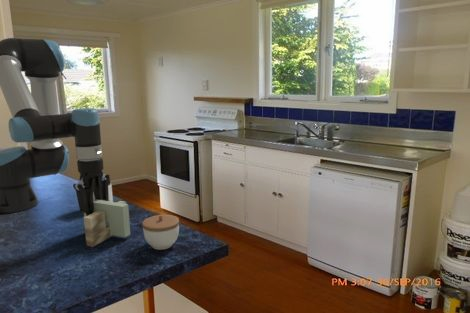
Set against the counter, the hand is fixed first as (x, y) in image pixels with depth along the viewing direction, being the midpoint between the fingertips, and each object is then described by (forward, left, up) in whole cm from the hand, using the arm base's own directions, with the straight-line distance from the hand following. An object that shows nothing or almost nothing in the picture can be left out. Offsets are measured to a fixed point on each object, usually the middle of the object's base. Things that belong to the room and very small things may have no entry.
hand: (96, 229), depth 118 cm
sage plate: (+4, +2, 0) cm, 4 cm away
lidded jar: (+22, +11, -2) cm, 25 cm away
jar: (-23, +11, -2) cm, 25 cm away
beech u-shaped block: (+4, +2, -2) cm, 5 cm away
